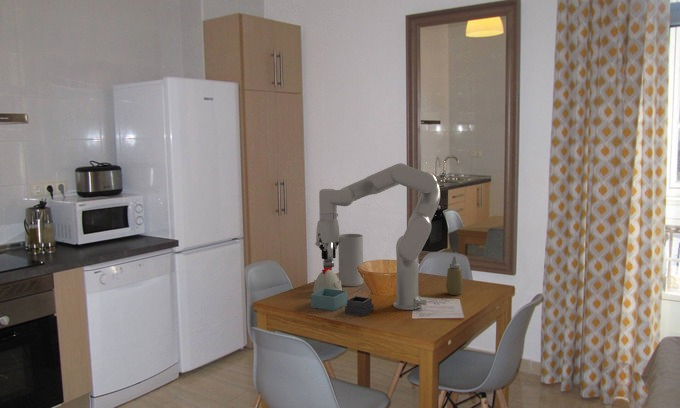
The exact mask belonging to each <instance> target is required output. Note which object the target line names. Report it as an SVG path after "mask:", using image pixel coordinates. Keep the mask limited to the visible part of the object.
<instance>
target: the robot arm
mask: <svg viewBox="0 0 680 408" xmlns="http://www.w3.org/2000/svg"><path fill="white" fill-rule="evenodd" d="M399 185H401V186H403V187H406V188H409V189H410V190H411V189H412V190H415V191H418V192H420V197H419V199H418V201H417V204H416V206H415V207H414V209H413V212H412V214H411V215H410V217H409V219H408V221H407V228H406V230H405V232H404V234H403V235H401V236H400V237H399V238H398V239H397V241H396V244H395V249H396V250H395V253H396V300H395V301H394V302H393V303H392V306H393V307H394V308H395V309H398V310H405V311H413V310H414V309H415V310H418V309H417V308H419V309H421V308H422V306H427V305H428V301H427V299H422V298H421V295H419V268H420V266H419V256H420V254H421V252H422V250H423V248H424V246H425V244H426V242H427V240H428V239H429V237H430V235H431V231H432V220H433V218H434V216H435V213H436V211H437V209H438V207H439V204H440V200H441V189H440V185H439V182H438V179H437V177H436V176H435V175H434V174H433V173H431V172H429V171H423V170H421V169H419V168H415V167H413V166H409V165H407V164H405V163H402V162H400V163H395V164H393V165H391V166H389V167H386V168H384V169H382V170H380V171H377V172H375V173H373V174H370V175H368V176H367V177H365V178H363V179H360V180H358V181H356V182H353V183H350V184H349V185H347V186H343V188H340V189H334V188H322V189H319V195H318V197H319V198H318V199H319V200H318V202H319V203H318V204H319V206H318V207H319V211H318V212H319V220H318V221H317V225H316V233H315V235H316V236H315V237H316V238H315V239H316V241H315V246H317V247H318V248H319V250H320V251H321V259H322V260H324V259H325V260H327V251H326V247H327V244H328V243H331V242H333V259H336V258H337V257H336V256H337V255H336V253H337V251H336V250H337V248H338V244H339V243H340V242H341V239H340V237H339V235H340V224H339V219H338V216H339V214H338V213H337V212H338V211H337V208H338V207H337V206H339V207H348V206H350V205H352V204H353V202H355V201H358V200H360V199H363V198H365V197H368V196H370V195H371V196H372V195H377V194H381V193H382V192H384V191H386V190H390V189H391V188H393V187H396V186H399ZM420 307H421V308H420Z"/></svg>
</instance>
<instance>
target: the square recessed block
mask: <svg viewBox="0 0 680 408" xmlns="http://www.w3.org/2000/svg"><path fill="white" fill-rule="evenodd" d="M372 300H373V299H372V298H371V297H366V296H358V295H355V296H353V297H351V298H349V299H348V300H347V305H345V306H344V310H345V311H344V313H345V314H347V315H354V316H355V315H356V316H361V317H365V316H367V315H369V314H370V313H372V312H373V311H375V310H374V309H375V307H374V305H375V304H374V303H373V301H372Z"/></svg>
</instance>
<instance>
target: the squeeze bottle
mask: <svg viewBox="0 0 680 408" xmlns="http://www.w3.org/2000/svg"><path fill="white" fill-rule="evenodd" d="M460 266H461V264H460V263H458V259H457V256H455V255H454V256H453V257H452V262H450V263H449V268H447V274H446V281H445V282H446V283H445V287H446V291H447V294H449V295H451V296H458V295H461V294H462V290H463V288H464V282H463V272H462V268H461V267H460Z"/></svg>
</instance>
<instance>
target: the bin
mask: <svg viewBox="0 0 680 408" xmlns="http://www.w3.org/2000/svg"><path fill="white" fill-rule="evenodd" d="M348 294H349V291H348V290H343V289H342V290H336V289H328V288H324V289H321V290H319V291H317V292H315V293H313V292H312V293H311V294H310V308H311V309H317V308H318V309H317V310H323V309H324V311H329V312H330V311H332V312H336V311H338V310H340V309H342V308H345V306H347V300H349V299H348V298H349V297H348V296H349V295H348Z"/></svg>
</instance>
